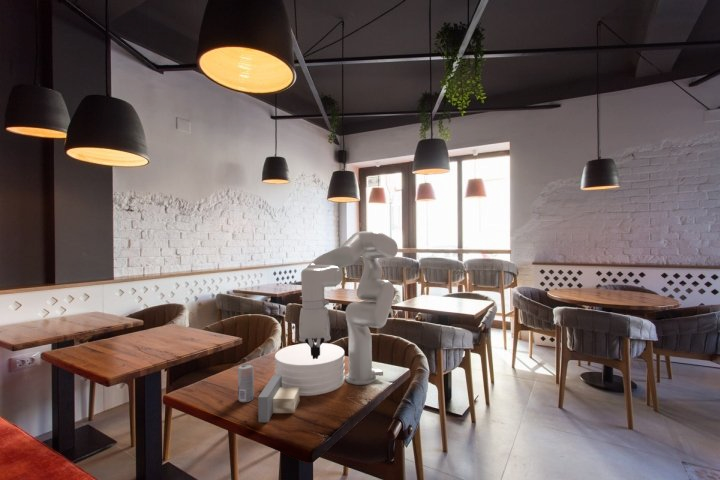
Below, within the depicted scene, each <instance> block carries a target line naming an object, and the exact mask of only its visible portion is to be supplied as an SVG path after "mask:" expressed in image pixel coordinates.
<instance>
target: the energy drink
mask: <svg viewBox="0 0 720 480" xmlns="http://www.w3.org/2000/svg"><path fill="white" fill-rule="evenodd" d="M254 374H255V372H254V366H253V364H251V363H243V364H241V365H238V368H237V389H238V391H237V393H238V395H237V396H238V397H237V398H238V401H239V402H240V403H248V402H251V401H253V399H254V398H255V387H254V386H255V384H254V379H255V378H254V376H255V375H254Z"/></svg>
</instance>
